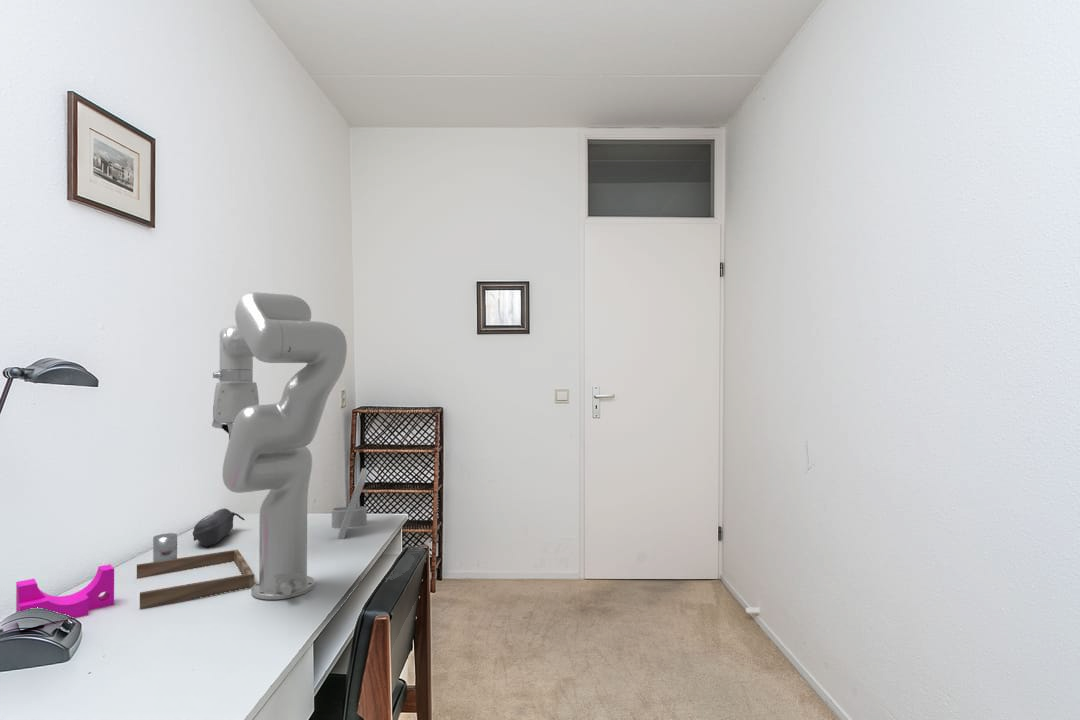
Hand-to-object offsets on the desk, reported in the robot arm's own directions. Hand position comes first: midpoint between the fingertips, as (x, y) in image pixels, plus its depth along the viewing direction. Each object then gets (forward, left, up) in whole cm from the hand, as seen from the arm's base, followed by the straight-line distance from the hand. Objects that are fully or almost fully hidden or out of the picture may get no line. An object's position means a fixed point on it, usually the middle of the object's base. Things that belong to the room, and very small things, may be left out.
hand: (236, 450), depth 158 cm
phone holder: (+5, -30, -27) cm, 41 cm away
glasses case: (+20, +2, -27) cm, 34 cm away
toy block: (-20, +33, -28) cm, 47 cm away
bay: (-14, +10, -27) cm, 32 cm away
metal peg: (+4, +15, -27) cm, 31 cm away
